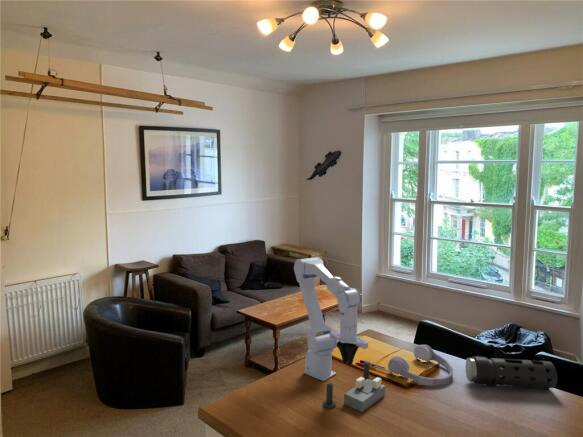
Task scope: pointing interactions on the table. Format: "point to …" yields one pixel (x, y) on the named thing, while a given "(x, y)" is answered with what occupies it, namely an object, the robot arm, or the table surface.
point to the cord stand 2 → (366, 371)
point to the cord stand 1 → (329, 397)
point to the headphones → (424, 353)
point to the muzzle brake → (511, 372)
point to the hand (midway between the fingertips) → (347, 363)
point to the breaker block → (365, 395)
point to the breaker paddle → (360, 382)
